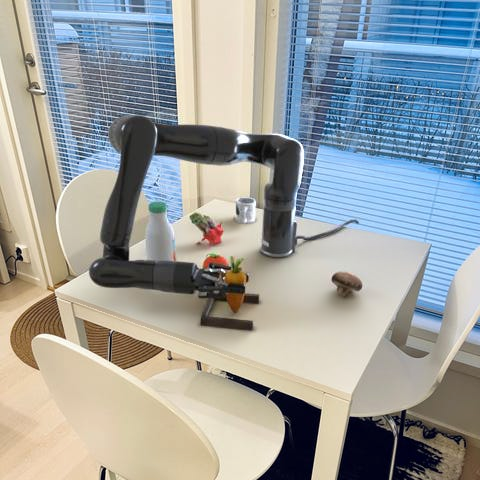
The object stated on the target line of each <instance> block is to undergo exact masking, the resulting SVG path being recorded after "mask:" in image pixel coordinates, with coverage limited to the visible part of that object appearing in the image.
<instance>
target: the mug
mask: <svg viewBox="0 0 480 480" xmlns="http://www.w3.org/2000/svg"><path fill="white" fill-rule="evenodd" d="M256 203H257V201H256V199H255V198H252V197H246V196H245V197H244V196H243V197H238V198H236V199H235V221H236V222H237V223H240V224H251V223H254V222H255V221H256V205H257V204H256Z"/></svg>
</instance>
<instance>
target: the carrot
mask: <svg viewBox="0 0 480 480" xmlns="http://www.w3.org/2000/svg"><path fill="white" fill-rule="evenodd" d="M229 258H230V266H231V267H232V270H229V271H228V272H227V273H226V275H225V282H226V283H236V284H245V286H246V285H247V283H246V274H245V273H246V272H245V271H243V270H242V269H243V267H242V266H240V265H241V263H242V262H244V258H243V257H242V258H238V259H237V260H236V262H235V257H234V255H230V257H229ZM245 293H246V292H245ZM245 293H244V294H245ZM244 294H238V293H228V294H226V297H227V304H228V307H229V308H230V310H231V312H232V313H233V315H234V314H235V315H236V314H237V313H238V312H239V310H240V308H241V306H242V304H243V303H244V302H243V298H244Z"/></svg>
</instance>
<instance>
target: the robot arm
mask: <svg viewBox="0 0 480 480" xmlns="http://www.w3.org/2000/svg"><path fill="white" fill-rule="evenodd" d="M107 137H108V141H109V143H110V146H111V147H112V148H113V150H114V151H116V153H118V154H119V155H120V157H119V159H120V160H119V161H120V162H119V167H118V173H117V176H116V180H115V183H114V185H113V187H112V190H111V193H110V195H109V197H108V200H107V203H106V205H105V208H104V212H103V216H102V221H101V228H100V232H99V233H100V234H99V240H100V243H101V244H102V245H103V248H102V257H99V258H96V259H95V260H94V261H92V263H91V264H90V266H89V267H88V276H89V278H90V280H91V281H92V282H93V283H94V284H95V285H97V286H98V287H101V288H106V289H130V288H131V289H141V290H151V291H158V292H161V293H170V294H181V295H194V294H195V293H196V292H197V298H198V299H201V300H203V299H207V300H208V298H224V295H225V294H228V293H238V294H244V293H246V288H247V287H246V286H245V284H236V283H226V282H225V275H226V273H227V272H228V271H229V270H232V266H231V265H228V266H226V265H221V264H216V263H209V267H208V268H203V267H202V268H199V267H198V265H197V262H190V261H181V260H176V261H154V260H147V259H135V260H130V242H131V240H132V239H131V238H132V234H133V229H134V223H135V219H136V213H137V210H138V204H139V201H140V197H141V193H142V190H143V186H144V184H145V181H146V177H147V174H148V171H149V168H150V166H151V163H152V160H153V157H154V156H155V157H156V156H157V157H167V158H171V159H176V160H179V161H184V162H189V163H195V164H200V165H206V166H207V165H209V166H217V167H224V166H232V165H235V164H239V163H250V164H257V165H260V166H264V167H267V168H269V169H271V170H273V175H272V181H269V182H268V183H266V184H265V185H264V188H263V208H262V226H261V227H262V228H261V239H260V243H261V244H260V245H261V246H260V251H261V253H262V254H263V255H265V256H267V257H270V258H285V257H289V256H290V255H292V254H293V253H295V251H296V245H297V244H298V240H303V241H312V240H315V239H318V238H321V237H324V236H327V235H330V234H334V233H336V232H338V231H339V230H341V229H342V228H343V227H345V226H347V225H350V224H351V223H355V224H357V225H358V224H360V221H359V220H358V219H356V218H355V219H354V218H352V219H349V220H348V221H345V222H342V223H341V224H340V225H339V226H337V227H336V228H334V229H331V230H328V231H325V232H321V233H318V234H315V235H311V236H305V235H297V229H298V222H297V221H296V220H295V218H296V205H297V195H298V194H297V193H298V192H299V191H298V190H299V189H300V187H301V182H302V175H303V168H304V159H305V153H304V152H305V151H304V147H303V145H302V144H301V142H299V141H298V140H296V139H295V138H291V137H289V136H286V135H283V134H279V133H248V132H244V131H240V130H237V129H233V128H228V127H222V126H216V125H208V124H166V123H161V122H155V121H153V120H151V119H150V118H148V117H147V116H145V115H141V114H125V115H121V116H119V117H117V118H116V119H115V120H113V121H112V123H110V125H109V127H108V130H107ZM223 269H225V270H223ZM244 273H245V274H246V284H247V283H248V282H249V279H250V274H249V273H248V272H244ZM219 275H220V278H219ZM214 293H216V294H214ZM217 293H219V294H217Z"/></svg>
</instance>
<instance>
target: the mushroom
mask: <svg viewBox="0 0 480 480" xmlns="http://www.w3.org/2000/svg"><path fill="white" fill-rule="evenodd" d="M330 280H331V283H333V285H335V286H336V291H337V292H338V293H339V294H340V295H341V296H343V297H346V295H347V293H348V292H351V291H352V292H359V291H361V290H362V288H363V282H362V280H361V278H359V277H358V276H357V275H355V274H353V273H351V272H348V271H343V270H342V271H337V272H335V273H334V274H332V276H331V279H330Z"/></svg>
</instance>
